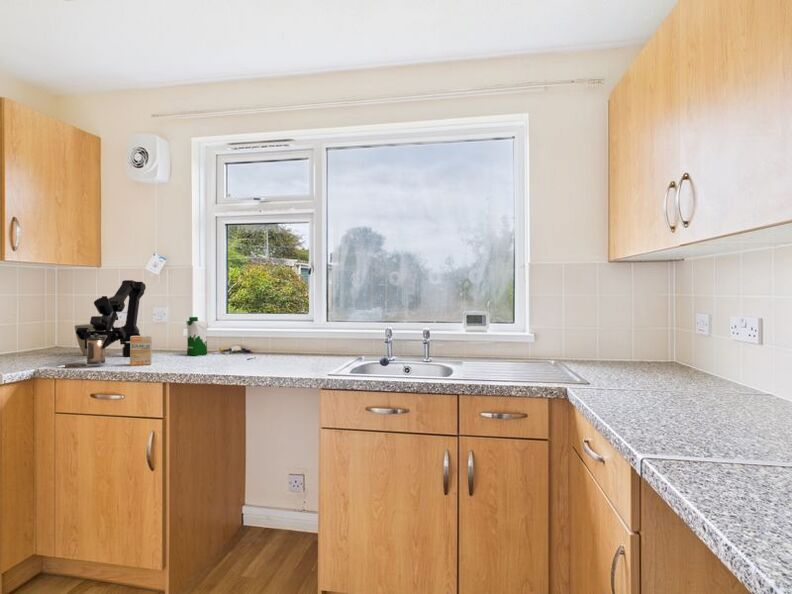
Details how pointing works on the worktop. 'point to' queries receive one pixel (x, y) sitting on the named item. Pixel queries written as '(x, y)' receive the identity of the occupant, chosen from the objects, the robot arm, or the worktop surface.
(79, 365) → the trivet
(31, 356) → the worktop surface
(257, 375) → the worktop surface
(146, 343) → the supplement box
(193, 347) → the milk carton
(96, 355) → the copper cylinder
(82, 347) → the plant pot
